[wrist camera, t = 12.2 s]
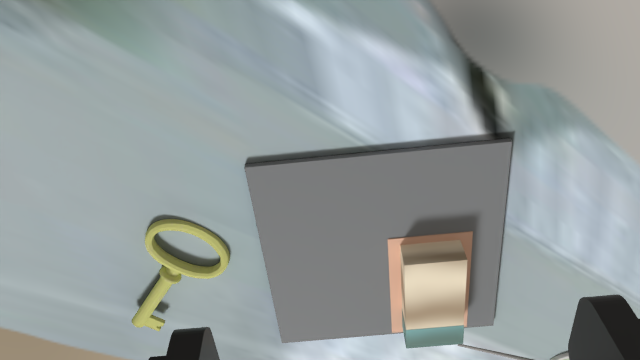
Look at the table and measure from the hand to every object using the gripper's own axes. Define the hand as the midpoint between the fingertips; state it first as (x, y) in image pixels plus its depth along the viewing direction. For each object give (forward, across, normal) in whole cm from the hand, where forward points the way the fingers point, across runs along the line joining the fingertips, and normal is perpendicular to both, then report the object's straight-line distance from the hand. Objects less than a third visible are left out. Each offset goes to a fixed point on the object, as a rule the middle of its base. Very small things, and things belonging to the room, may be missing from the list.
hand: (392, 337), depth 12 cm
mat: (+28, -2, +22) cm, 35 cm away
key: (+28, +16, +22) cm, 39 cm away
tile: (+27, -6, +26) cm, 38 cm away
